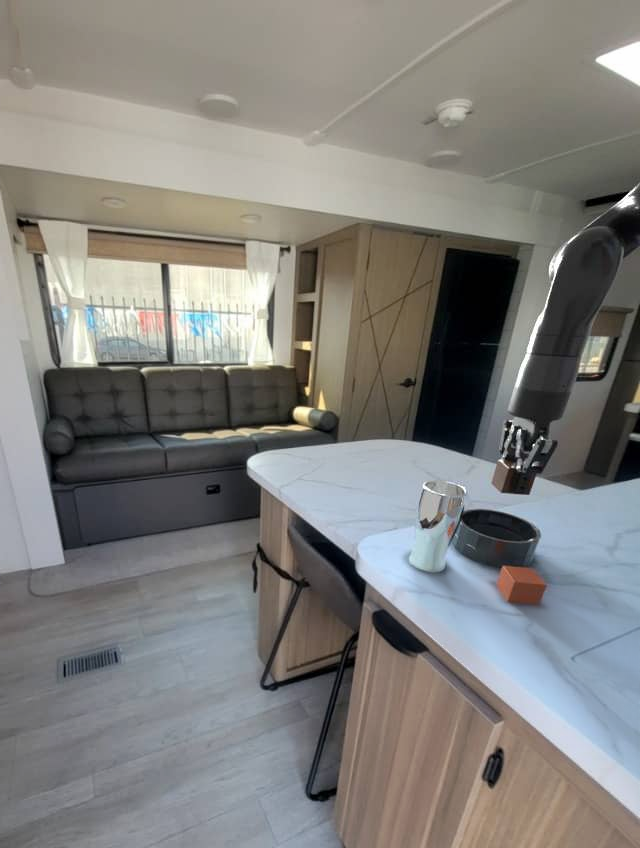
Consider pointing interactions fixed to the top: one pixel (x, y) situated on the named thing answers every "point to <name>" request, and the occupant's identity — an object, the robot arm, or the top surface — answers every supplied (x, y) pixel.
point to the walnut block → (508, 476)
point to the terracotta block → (521, 585)
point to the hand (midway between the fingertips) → (510, 487)
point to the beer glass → (436, 523)
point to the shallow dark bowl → (496, 538)
